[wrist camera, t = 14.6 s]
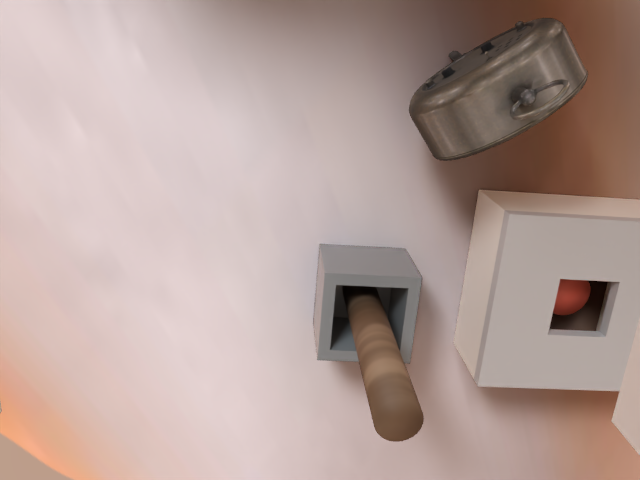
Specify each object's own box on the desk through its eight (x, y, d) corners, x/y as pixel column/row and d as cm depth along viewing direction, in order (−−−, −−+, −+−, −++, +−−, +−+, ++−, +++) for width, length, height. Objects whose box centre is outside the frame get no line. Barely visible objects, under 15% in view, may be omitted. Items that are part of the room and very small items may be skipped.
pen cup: (319, 244, 50) (324, 272, 44) (405, 248, 50) (422, 277, 44) (313, 322, 52) (317, 360, 46) (395, 326, 52) (409, 363, 47)
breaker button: (533, 256, 50) (548, 270, 47) (577, 258, 50) (595, 272, 47) (524, 298, 51) (539, 314, 48) (567, 300, 51) (584, 316, 48)
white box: (478, 189, 49) (509, 214, 42) (642, 199, 50) (697, 225, 43) (453, 342, 53) (477, 386, 47) (604, 348, 55) (648, 392, 48)
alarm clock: (417, 146, 47) (483, 201, 32) (383, 87, 46) (435, 114, 30) (541, 69, 46) (671, 88, 31) (510, 5, 44) (631, -9, 29)
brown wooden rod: (343, 273, 50) (376, 398, 33) (377, 274, 50) (426, 399, 33) (341, 304, 51) (371, 440, 34) (373, 305, 51) (420, 442, 34)
